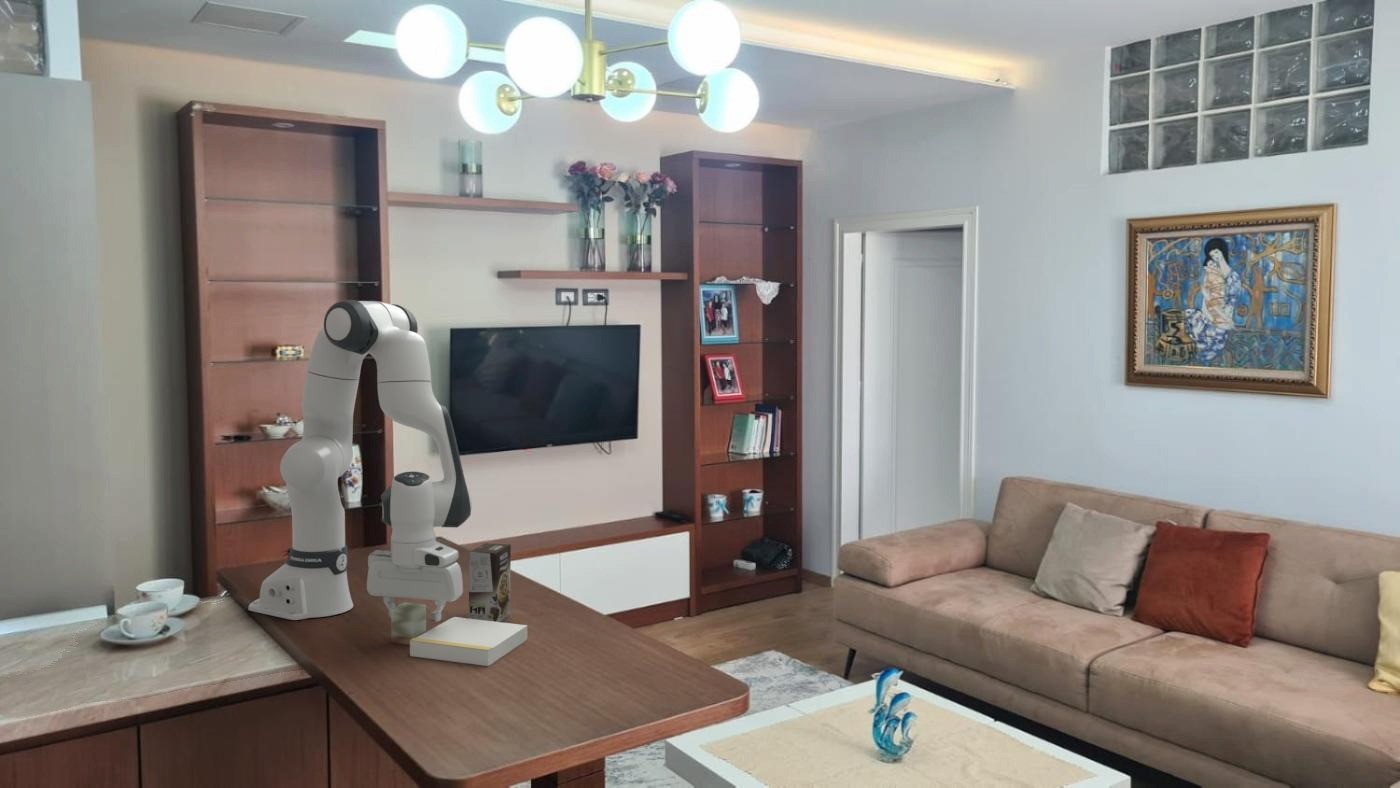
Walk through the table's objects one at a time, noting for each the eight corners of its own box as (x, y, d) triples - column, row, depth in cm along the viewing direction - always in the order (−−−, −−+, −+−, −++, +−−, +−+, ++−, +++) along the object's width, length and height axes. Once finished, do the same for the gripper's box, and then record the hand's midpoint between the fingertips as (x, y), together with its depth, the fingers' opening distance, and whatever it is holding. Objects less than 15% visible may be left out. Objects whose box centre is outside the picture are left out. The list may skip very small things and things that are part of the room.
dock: (410, 656, 210) (409, 640, 210) (453, 630, 226) (453, 615, 226) (488, 666, 205) (488, 649, 205) (527, 639, 221) (527, 624, 221)
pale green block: (391, 642, 218) (391, 608, 217) (404, 635, 223) (404, 602, 222) (413, 645, 217) (412, 611, 216) (426, 637, 221) (426, 604, 221)
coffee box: (495, 627, 229) (496, 553, 228) (467, 624, 231) (467, 551, 229) (511, 615, 238) (512, 543, 237) (484, 612, 239) (484, 541, 238)
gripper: (359, 553, 218) (361, 619, 219) (451, 559, 213) (452, 627, 214) (376, 546, 224) (378, 610, 226) (465, 551, 219) (467, 617, 220)
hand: (415, 618), depth 220 cm, fingers open, 8 cm apart
